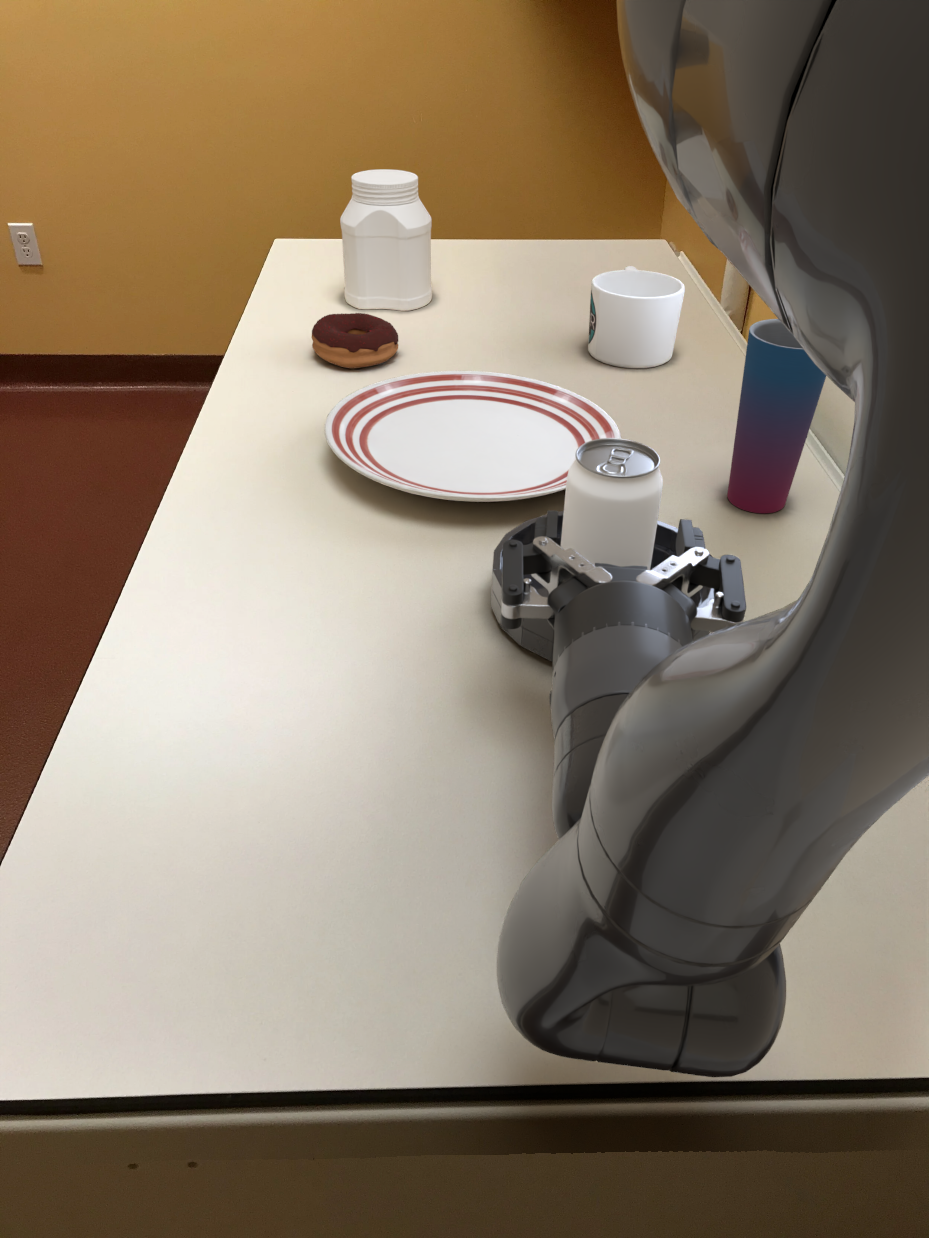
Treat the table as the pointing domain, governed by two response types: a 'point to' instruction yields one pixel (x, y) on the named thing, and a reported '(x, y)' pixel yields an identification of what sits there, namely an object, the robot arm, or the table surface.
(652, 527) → the can
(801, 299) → the robot arm
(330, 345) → the donut
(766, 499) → the cup
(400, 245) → the jar
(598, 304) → the mug
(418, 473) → the dinner plate
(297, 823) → the table surface
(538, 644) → the pan
